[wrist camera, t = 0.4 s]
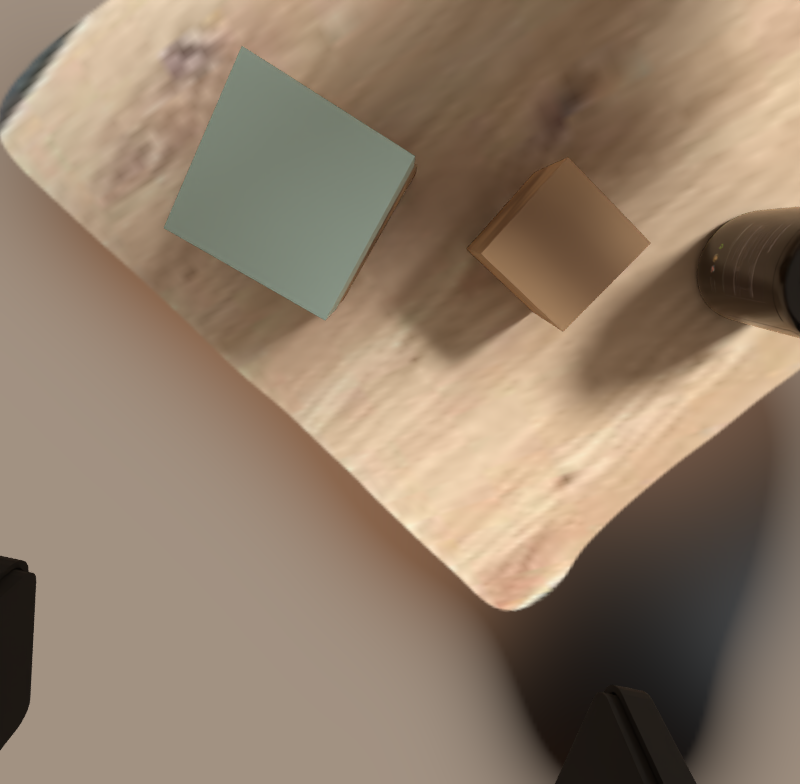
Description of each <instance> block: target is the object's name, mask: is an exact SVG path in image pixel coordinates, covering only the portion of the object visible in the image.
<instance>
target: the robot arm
mask: <svg viewBox="0 0 800 784" xmlns="http://www.w3.org/2000/svg"><path fill="white" fill-rule="evenodd" d="M35 592H36V576H35V574H34V573H30V572H28V565H27V563H26V562H25V561H22V560H18V559H13V558H8V557H3V556H0V750H1V749H2V747H3V746H4V744H5V743H6V742H7V741H8V740H9V738H10V737H11V736H12V735H13V733H14V732H15V731H16V729H17V728H18V727H19V725H20V724H21V722H22V720H23V718H24V717H25V714H26V712H27V710H28V707H29V703H30V691H31V672H32V653H33V652H32V651H33V633H34V612H35ZM555 784H696V782H695V781H694V779H693V776H692V775H691V773H690V771H689V769H688V767H687V765H686V763H685V761H684V759H683V757H682V756H681V754H680V752H679V750H678V748H677V746H676V744H675V742H674V740H673V738H672V736H671V735H670V733H669V731H668V729H667V727H666V725H665V723H664V721H663V719H662V717H661V715H660V714H659V712H658V710H657V708H656V706H655V704H654V702H653V700H652V699H651V697H650V696H649V695H648V694H647V693H646V692H644V691H640V690H635V689H630V688H625V687H621V686H616V685H610V686H608V687H607V688H606V689H605V691H604V692H598V693H597V694H596V695H595V697H594V699H593V701H592V703H591V705H590V708H589V710H588V712H587V714H586V717H585V719H584V721H583V723H582V725H581V727H580V730H579V732H578V734H577V736H576V739H575V741H574V743H573V745H572V747H571V750H570V752H569V754H568V756H567V758H566V761H565V763H564V765H563V767H562V770H561V772H560V774H559V776H558V779H557V781H556V783H555Z"/></svg>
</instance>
